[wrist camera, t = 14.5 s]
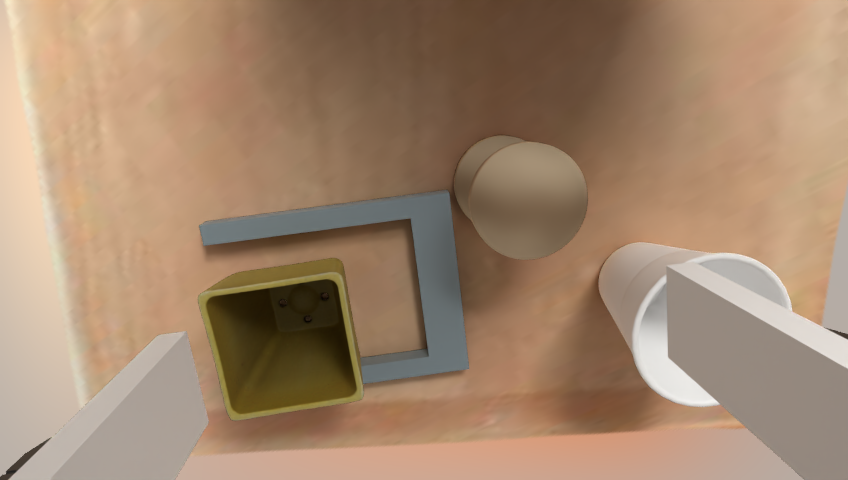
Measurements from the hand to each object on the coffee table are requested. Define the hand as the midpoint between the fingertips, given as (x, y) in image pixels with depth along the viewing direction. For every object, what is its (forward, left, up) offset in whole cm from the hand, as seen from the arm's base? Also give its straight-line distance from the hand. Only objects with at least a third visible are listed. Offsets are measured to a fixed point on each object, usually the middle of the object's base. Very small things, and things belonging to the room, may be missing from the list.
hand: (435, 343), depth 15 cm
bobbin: (0, +7, -27) cm, 28 cm away
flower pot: (+7, -9, -27) cm, 29 cm away
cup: (+9, +17, -27) cm, 33 cm away
